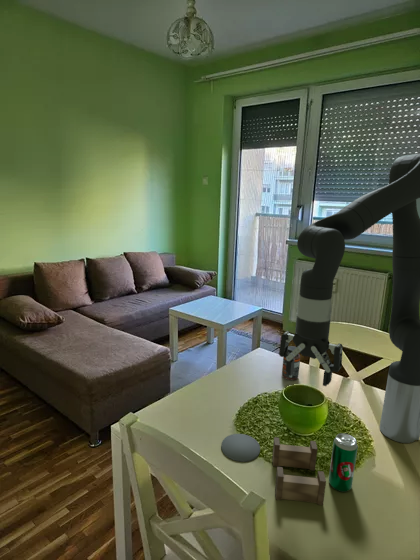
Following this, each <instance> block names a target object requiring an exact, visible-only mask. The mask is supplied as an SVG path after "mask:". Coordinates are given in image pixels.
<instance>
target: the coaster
mask: <svg viewBox="0 0 420 560" xmlns="http://www.w3.org/2000/svg"><path fill="white" fill-rule="evenodd" d="M260 445H261V444H259V442H258V441H257V440H256V439H255V438H254V437H252V436H250V435H248V434H244V433H233V434H229V435H227V436H225V437H224V438H223V440H222V441H221V451H222V453H223V454H224V455H225V457H227V458H228V459H230V460H232V461H235V462H242V463H243V462H246V463H247V462H250V461H253V460H255V459H256V458H257V457H259V454H260V452H261V446H260Z"/></svg>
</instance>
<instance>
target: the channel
mask: <svg viewBox="0 0 420 560" xmlns="http://www.w3.org/2000/svg"><path fill="white" fill-rule="evenodd" d="M272 446H273V448H272V457H271V458H272V466H273V467H276V473H275V474H276V475H275V485H274V494H275V501H282V500H286V501H287V500H288V501H298V502H307V503H313V504H314V503H315V504H316V505H320V506H324V500H325V493H326V486H327V480H326V476H325V472H324V471H323V470H322V471H320V470H318V471H317V475H316V477H308V476H301V475H291V474H284V469H283V467H287V468H288V467H290V468H298V469H308V470H309V471H316V465H317V464H316V463H317V456H318V455H317V454H318V445H317V443H316V441H315V440H310V441H309V446H300V445H293V444H292V445H289V444H282V443H280V437H276V436H275V437H273V445H272Z"/></svg>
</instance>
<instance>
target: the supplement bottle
mask: <svg viewBox="0 0 420 560" xmlns="http://www.w3.org/2000/svg"><path fill="white" fill-rule="evenodd" d="M296 348H297V347H296V346H293V345H290V346H289V345H288V352H289V353H291V352H292V351H294V350H295V349H296ZM282 358H283V359H282V369H281V377H283V379H285V380H289V381H295V380H298V379H299V374H300V373H299V372H300V363H301V354H300V352H299V353H298V354H297V355H296V356H295V357H294V359H295V363H294V372H293V374H292V375H291V376H290V375H288V372H286V362H287V361H286V359H285V358H284V357H282Z"/></svg>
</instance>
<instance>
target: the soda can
mask: <svg viewBox="0 0 420 560" xmlns="http://www.w3.org/2000/svg"><path fill="white" fill-rule="evenodd" d="M358 448H359V446H358V443H357V439H356V437H354V436H352V435H350V434H349V433H345V432H341V433H338V434H336V436H335V438H334V439H333V444H332V452H331V459H330V467H329V473H328V483H329V484H330V486H331V488H333V489H334V490H335V491H338V492H342V493H344V492H345V493H346V492H348V491H350V490H351V489H352V488H353V481H354V476H355V475H354V474H355V468H356V467H355V466H356V462H357V453H358Z"/></svg>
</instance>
